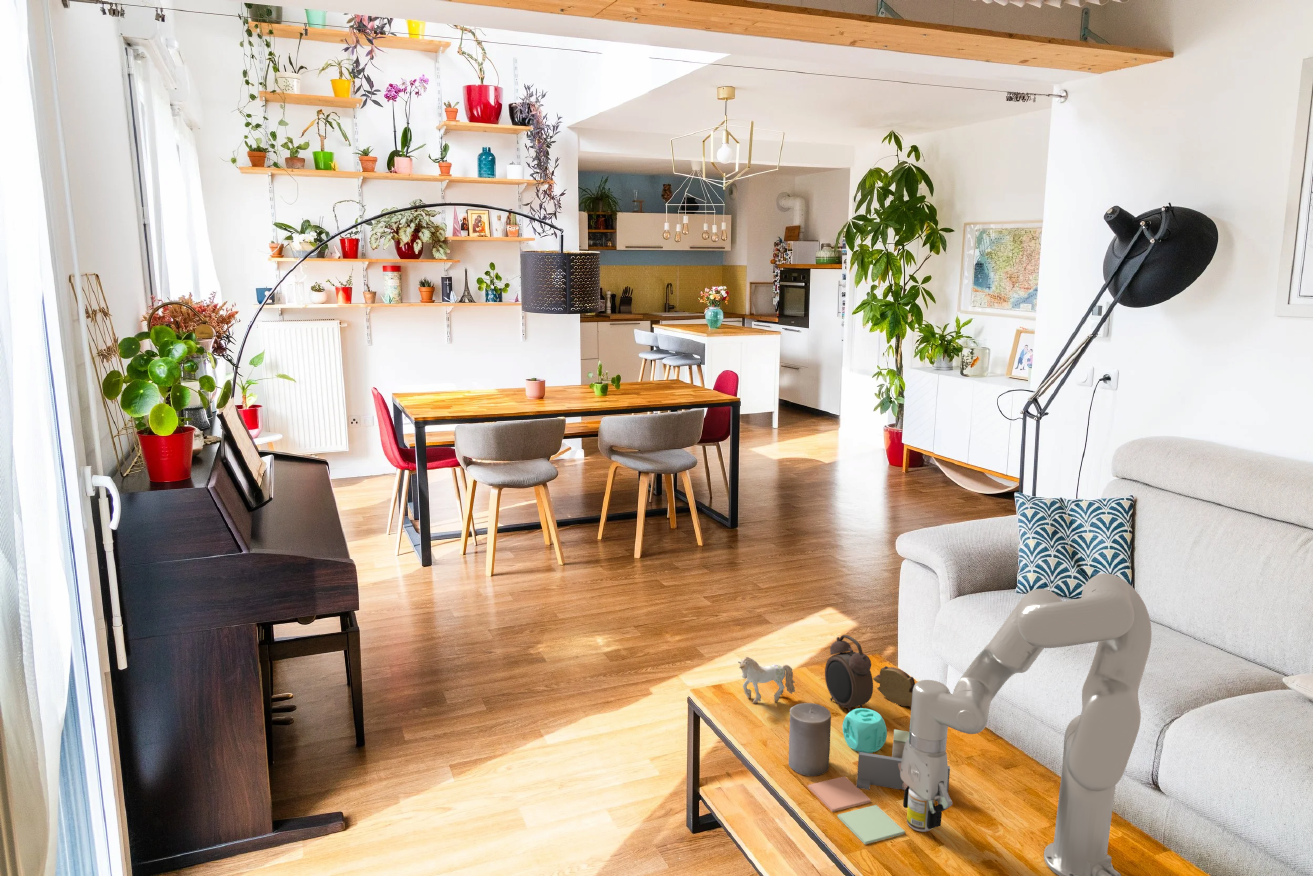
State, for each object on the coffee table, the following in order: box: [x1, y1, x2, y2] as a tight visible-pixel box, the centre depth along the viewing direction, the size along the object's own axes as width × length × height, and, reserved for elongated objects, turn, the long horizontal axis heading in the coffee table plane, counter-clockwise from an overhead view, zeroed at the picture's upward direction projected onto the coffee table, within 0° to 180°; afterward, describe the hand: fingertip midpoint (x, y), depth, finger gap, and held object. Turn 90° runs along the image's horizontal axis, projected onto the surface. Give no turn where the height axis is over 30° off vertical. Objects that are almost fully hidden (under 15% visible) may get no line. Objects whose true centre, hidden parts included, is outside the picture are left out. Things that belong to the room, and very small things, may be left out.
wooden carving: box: [872, 666, 916, 708], centre depth 242 cm, size 16×5×10 cm, turn 43°
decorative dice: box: [842, 707, 888, 754], centre depth 220 cm, size 8×8×8 cm
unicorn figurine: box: [737, 656, 796, 705], centre depth 241 cm, size 7×20×13 cm, turn 118°
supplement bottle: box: [906, 788, 936, 833], centre depth 188 cm, size 6×6×10 cm
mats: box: [807, 775, 906, 845], centre depth 194 cm, size 22×10×1 cm, turn 22°
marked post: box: [891, 728, 909, 759], centre depth 207 cm, size 5×5×10 cm
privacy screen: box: [855, 752, 951, 802], centre depth 202 cm, size 20×6×7 cm, turn 74°
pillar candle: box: [788, 702, 832, 777], centre depth 210 cm, size 10×10×15 cm
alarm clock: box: [824, 634, 874, 713], centre depth 238 cm, size 15×7×20 cm, turn 25°
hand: (921, 816), depth 188 cm, fingers open, 7 cm apart
